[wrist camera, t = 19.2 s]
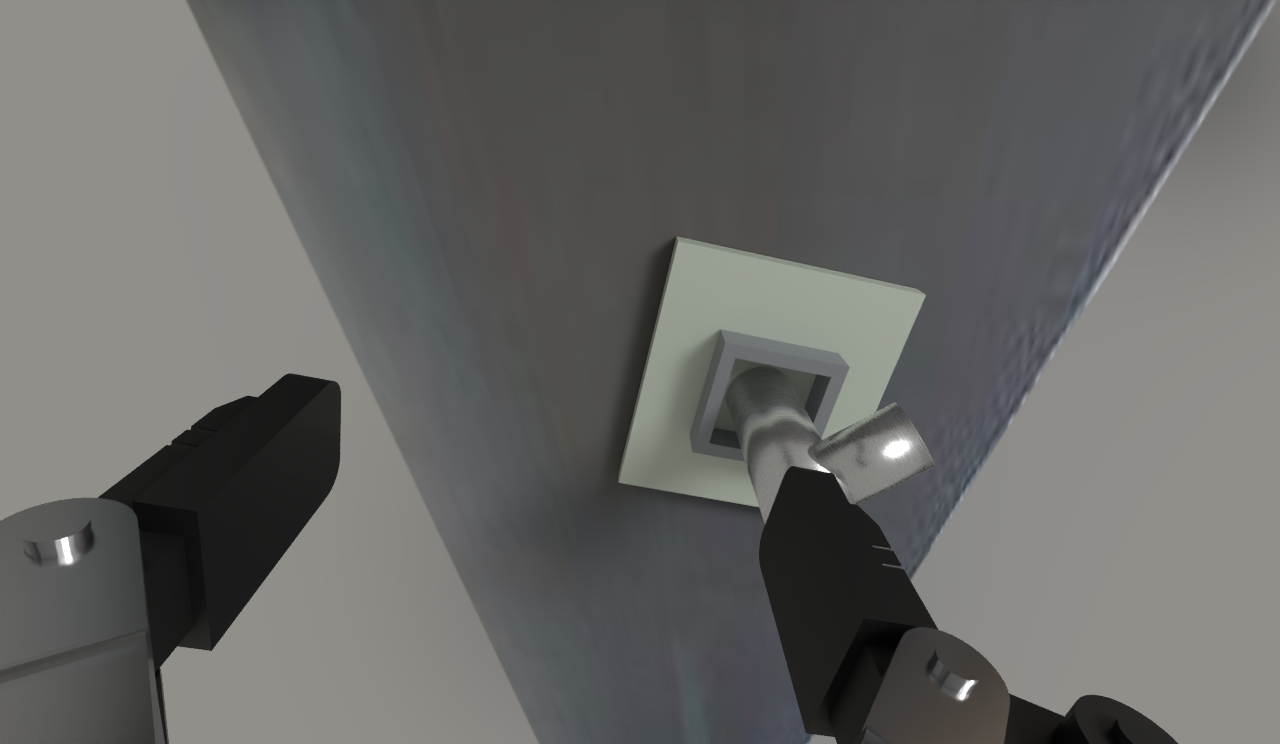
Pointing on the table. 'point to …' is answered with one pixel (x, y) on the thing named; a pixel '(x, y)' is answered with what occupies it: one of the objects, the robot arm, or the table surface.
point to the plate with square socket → (755, 359)
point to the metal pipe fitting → (819, 441)
